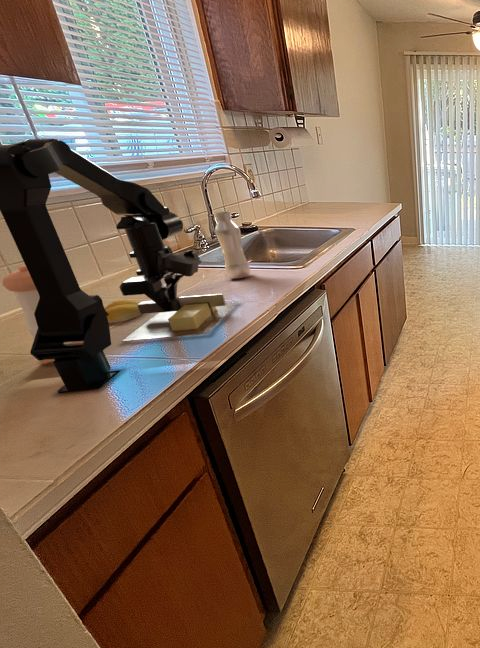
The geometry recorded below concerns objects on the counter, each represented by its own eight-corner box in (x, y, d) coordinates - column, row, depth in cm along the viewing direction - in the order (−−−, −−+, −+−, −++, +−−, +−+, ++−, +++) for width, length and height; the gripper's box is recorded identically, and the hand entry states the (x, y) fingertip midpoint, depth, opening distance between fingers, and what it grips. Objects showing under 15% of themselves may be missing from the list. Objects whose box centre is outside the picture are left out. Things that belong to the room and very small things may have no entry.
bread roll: (104, 328, 93) (97, 313, 91) (104, 316, 99) (97, 301, 97) (148, 318, 98) (142, 303, 96) (146, 307, 104) (140, 293, 102)
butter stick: (196, 328, 90) (192, 316, 89) (172, 331, 89) (167, 319, 88) (211, 314, 97) (207, 303, 96) (188, 316, 96) (184, 305, 95)
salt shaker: (42, 356, 81) (-7, 266, 73) (90, 343, 86) (49, 258, 78) (45, 369, 77) (-6, 275, 69) (95, 354, 82) (52, 265, 74)
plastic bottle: (235, 274, 128) (218, 210, 119) (256, 274, 127) (240, 210, 119) (223, 280, 122) (203, 214, 114) (244, 281, 122) (226, 214, 113)
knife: (227, 303, 99) (224, 292, 97) (224, 307, 97) (220, 295, 95) (145, 310, 96) (141, 298, 94) (140, 314, 94) (136, 302, 92)
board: (209, 336, 88) (208, 333, 88) (122, 344, 85) (121, 341, 85) (237, 305, 104) (236, 302, 104) (165, 311, 101) (164, 308, 101)
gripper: (166, 254, 82) (190, 322, 89) (205, 233, 99) (222, 292, 105) (105, 258, 80) (133, 327, 87) (154, 236, 97) (175, 296, 103)
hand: (171, 309), depth 95 cm, fingers closed on knife, 2 cm apart
